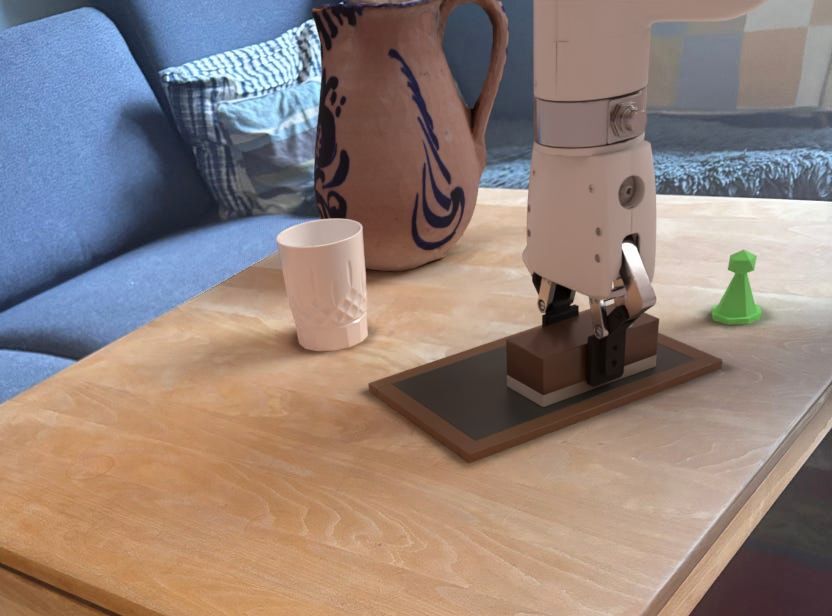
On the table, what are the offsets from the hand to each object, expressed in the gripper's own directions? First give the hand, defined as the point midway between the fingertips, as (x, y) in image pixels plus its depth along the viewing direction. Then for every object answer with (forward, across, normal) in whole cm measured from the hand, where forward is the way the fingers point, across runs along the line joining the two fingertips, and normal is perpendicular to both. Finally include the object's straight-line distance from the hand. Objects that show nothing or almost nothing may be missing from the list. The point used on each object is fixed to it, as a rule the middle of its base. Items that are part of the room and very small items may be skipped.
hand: (581, 366), depth 78 cm
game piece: (+2, +2, -18) cm, 19 cm away
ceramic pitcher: (+2, +39, -7) cm, 40 cm away
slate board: (+2, +3, +2) cm, 4 cm away
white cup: (+2, +24, +11) cm, 26 cm away
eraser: (+1, 0, 0) cm, 1 cm away
